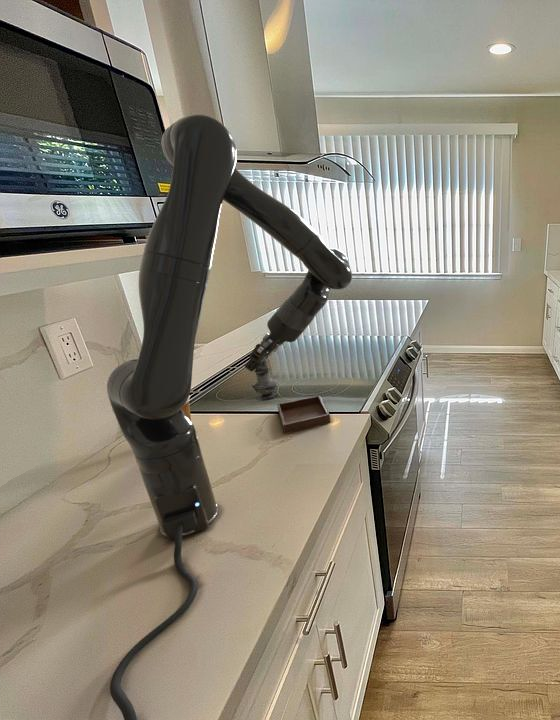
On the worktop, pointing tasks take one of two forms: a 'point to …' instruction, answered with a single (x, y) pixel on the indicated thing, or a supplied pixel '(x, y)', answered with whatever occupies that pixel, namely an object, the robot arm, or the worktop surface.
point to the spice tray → (303, 414)
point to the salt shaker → (264, 383)
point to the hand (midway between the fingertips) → (252, 366)
